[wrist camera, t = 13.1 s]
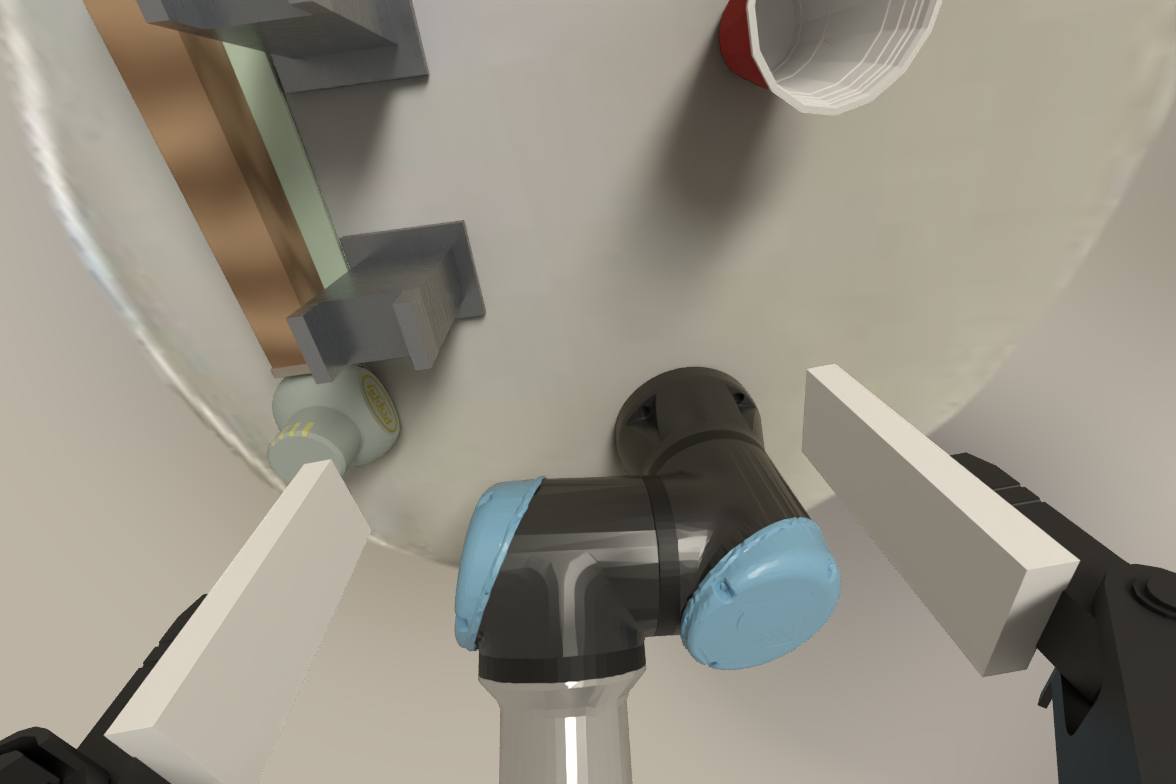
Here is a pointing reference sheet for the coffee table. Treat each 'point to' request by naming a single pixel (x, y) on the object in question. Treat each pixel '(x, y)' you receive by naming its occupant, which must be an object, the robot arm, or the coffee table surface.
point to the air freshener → (331, 422)
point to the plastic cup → (824, 47)
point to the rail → (218, 169)
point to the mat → (288, 158)
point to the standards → (377, 260)
